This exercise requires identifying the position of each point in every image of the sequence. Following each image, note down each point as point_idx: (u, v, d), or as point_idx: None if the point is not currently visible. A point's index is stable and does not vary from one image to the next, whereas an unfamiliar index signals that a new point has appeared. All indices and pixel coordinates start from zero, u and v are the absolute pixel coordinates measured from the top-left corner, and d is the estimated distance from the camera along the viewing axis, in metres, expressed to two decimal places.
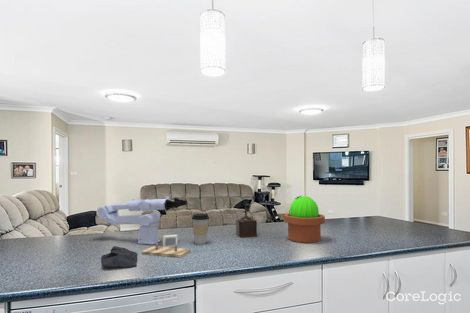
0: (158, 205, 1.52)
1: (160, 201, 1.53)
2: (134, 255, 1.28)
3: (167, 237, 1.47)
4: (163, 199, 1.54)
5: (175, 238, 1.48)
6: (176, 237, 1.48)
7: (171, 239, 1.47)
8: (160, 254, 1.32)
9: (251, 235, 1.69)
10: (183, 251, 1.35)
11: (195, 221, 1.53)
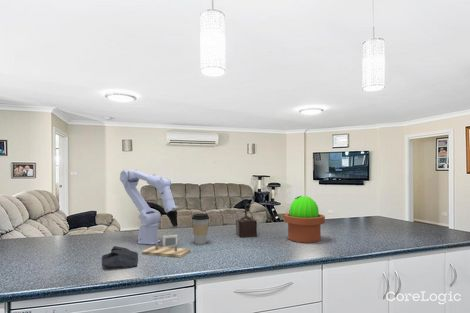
0: (167, 201, 1.49)
1: (171, 201, 1.49)
2: (135, 255, 1.28)
3: (167, 237, 1.47)
4: (174, 203, 1.50)
5: (175, 238, 1.48)
6: (176, 237, 1.48)
7: (171, 239, 1.47)
8: (160, 254, 1.32)
9: (251, 235, 1.69)
10: (183, 251, 1.35)
11: (195, 221, 1.53)
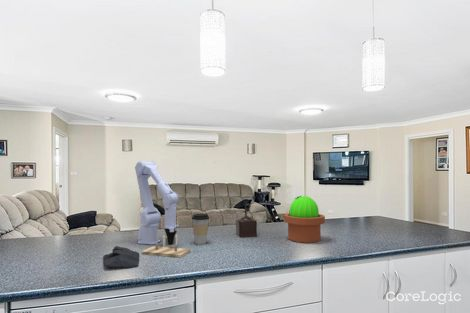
0: (170, 218, 1.46)
1: (174, 220, 1.47)
2: (136, 255, 1.28)
3: None
4: (175, 222, 1.49)
5: (175, 238, 1.48)
6: (176, 237, 1.48)
7: None
8: (160, 254, 1.32)
9: (251, 235, 1.69)
10: (183, 251, 1.35)
11: (195, 221, 1.53)
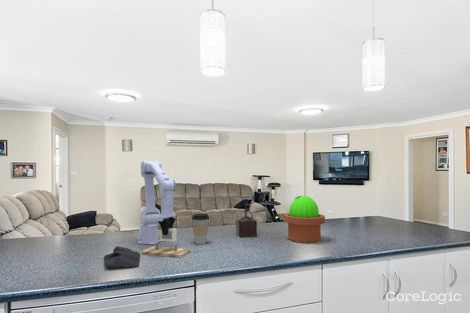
0: (163, 207, 1.36)
1: (168, 209, 1.36)
2: (137, 255, 1.28)
3: None
4: (171, 211, 1.37)
5: (171, 232, 1.36)
6: (172, 231, 1.36)
7: None
8: (160, 254, 1.32)
9: (251, 235, 1.69)
10: (183, 251, 1.35)
11: (195, 221, 1.53)
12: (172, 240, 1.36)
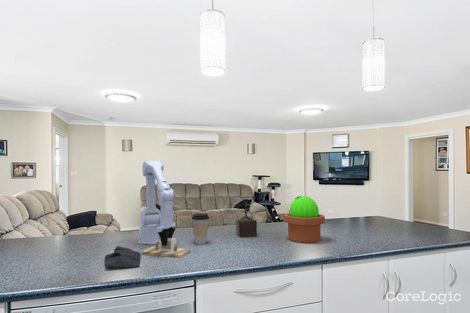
0: (163, 217, 1.35)
1: (167, 219, 1.35)
2: (137, 255, 1.28)
3: None
4: (170, 222, 1.35)
5: (170, 242, 1.34)
6: (171, 241, 1.34)
7: None
8: (160, 254, 1.32)
9: (251, 235, 1.69)
10: (183, 251, 1.35)
11: (195, 221, 1.53)
12: (171, 250, 1.34)
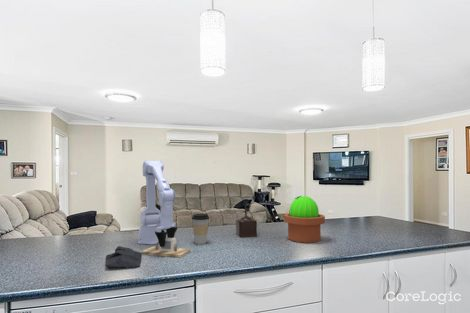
0: (163, 217, 1.35)
1: (167, 219, 1.35)
2: (138, 255, 1.28)
3: None
4: (170, 222, 1.35)
5: (170, 242, 1.34)
6: (171, 241, 1.34)
7: (166, 242, 1.35)
8: (160, 254, 1.32)
9: (251, 235, 1.69)
10: (183, 251, 1.35)
11: (195, 221, 1.53)
12: (171, 250, 1.34)
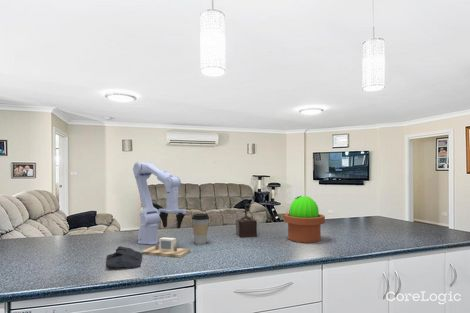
0: None
1: (166, 204, 1.46)
2: (139, 255, 1.28)
3: (163, 240, 1.36)
4: (167, 206, 1.45)
5: (170, 242, 1.34)
6: (171, 241, 1.34)
7: (166, 242, 1.35)
8: (160, 254, 1.32)
9: (251, 235, 1.69)
10: (183, 251, 1.35)
11: (195, 221, 1.53)
12: (171, 250, 1.34)
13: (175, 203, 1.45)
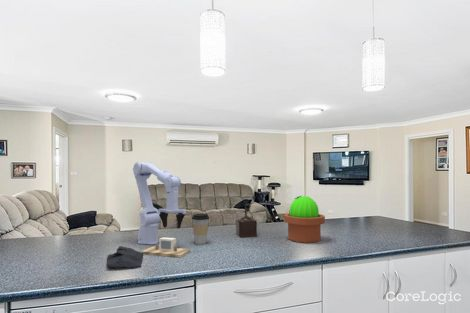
0: None
1: (166, 204, 1.46)
2: (139, 255, 1.27)
3: (163, 240, 1.36)
4: (167, 206, 1.45)
5: (170, 242, 1.34)
6: (171, 241, 1.34)
7: (166, 242, 1.35)
8: (160, 254, 1.32)
9: (251, 235, 1.69)
10: (183, 251, 1.35)
11: (195, 221, 1.53)
12: (171, 250, 1.34)
13: (175, 203, 1.45)
